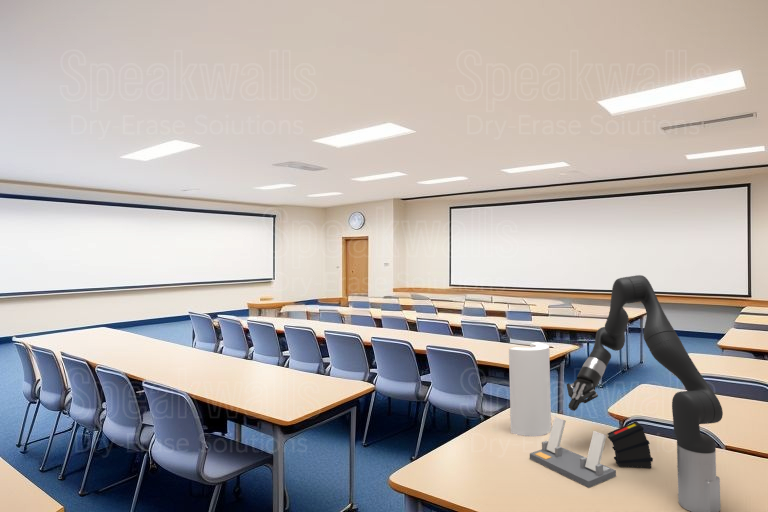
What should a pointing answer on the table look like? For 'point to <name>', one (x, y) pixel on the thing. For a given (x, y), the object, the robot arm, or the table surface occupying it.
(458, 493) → the table surface
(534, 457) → the switch panel
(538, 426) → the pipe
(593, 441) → the inner lever
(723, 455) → the table surface
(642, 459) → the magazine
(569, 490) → the table surface
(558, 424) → the outer lever
